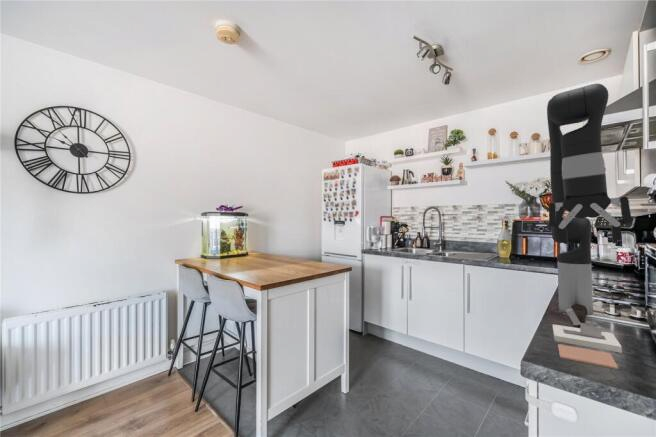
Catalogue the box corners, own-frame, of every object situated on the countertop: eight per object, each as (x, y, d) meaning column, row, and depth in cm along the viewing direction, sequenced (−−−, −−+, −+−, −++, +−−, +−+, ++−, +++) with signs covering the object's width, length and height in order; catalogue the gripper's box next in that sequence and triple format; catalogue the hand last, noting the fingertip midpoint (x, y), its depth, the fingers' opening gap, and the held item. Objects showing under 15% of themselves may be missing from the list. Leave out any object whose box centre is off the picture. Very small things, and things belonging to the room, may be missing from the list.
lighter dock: (552, 329, 86) (552, 324, 86) (612, 338, 79) (612, 333, 79) (554, 341, 78) (554, 335, 78) (621, 352, 71) (621, 346, 71)
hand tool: (571, 314, 99) (571, 301, 100) (587, 316, 97) (586, 303, 97) (566, 330, 86) (565, 315, 86) (584, 333, 83) (583, 317, 83)
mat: (557, 345, 76) (557, 343, 76) (610, 355, 70) (610, 353, 70) (560, 357, 69) (560, 356, 69) (618, 369, 63) (618, 367, 63)
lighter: (601, 342, 77) (600, 312, 77) (601, 344, 75) (600, 314, 76) (567, 335, 82) (566, 307, 82) (566, 337, 80) (565, 308, 80)
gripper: (624, 169, 66) (630, 239, 66) (546, 179, 75) (552, 241, 75) (629, 169, 60) (635, 245, 60) (544, 179, 69) (550, 246, 70)
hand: (589, 243), depth 68 cm, fingers open, 8 cm apart
